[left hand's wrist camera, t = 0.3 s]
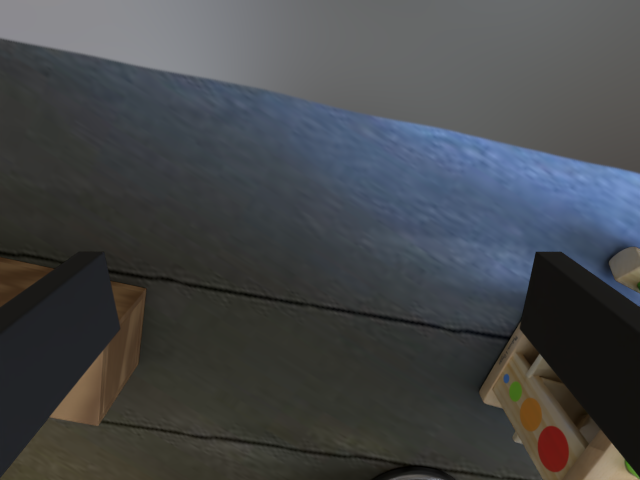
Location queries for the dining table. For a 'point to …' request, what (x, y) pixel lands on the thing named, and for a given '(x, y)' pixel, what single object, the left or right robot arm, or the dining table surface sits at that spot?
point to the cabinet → (114, 361)
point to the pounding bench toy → (557, 405)
